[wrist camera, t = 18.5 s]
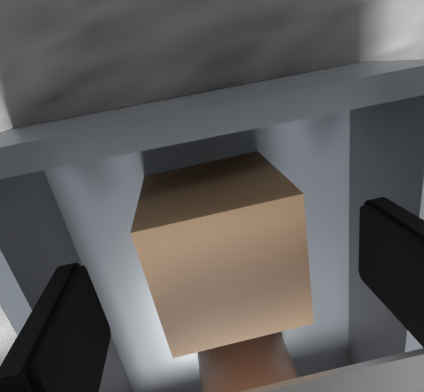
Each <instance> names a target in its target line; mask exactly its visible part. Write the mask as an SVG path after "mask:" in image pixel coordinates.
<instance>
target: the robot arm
mask: <svg viewBox="0 0 424 392" xmlns="http://www.w3.org/2000/svg"><path fill="white" fill-rule="evenodd" d="M358 271H359V275H360V277H361V279H362V281H363V282H364V283H365V284H366V285H367V286H368V287H369V288H370V290H371V291H372V292H373V293H374V294H375V295H376V296H377V297H378V298H379V299H380V301H381V302H382V303H383V304H384V305H385V306H386V307H387V308H388V309H389V310H390V312H391V313H392V314H393V315H394V316H395V317H396V318H397V319H398V320H399V321H400V322H401V324H402V325H403V326H404V327H405V328H406V329H407V330H408V331H409V332H410V333H411V335H412V336H413V337H414V338H415V339H416V340H417V341H418V342H419V343H420V344H421V346H422V347H423V348H421V349H417V350H413V351H409V352H404V353H400V354H396V355H391V356H387V357H383V358H379V359H374V360H370V361H366V362H362V363H357V364H353V365H349V366H345V367H340V368H336V369H332V370H328V371H324V372H319V373H315V374H311V375H307V376H303V377H299V378H294V379H290V380H286V381H282V382H278V383H274V384H270V385H265V386H261V387H257V388H253V389H249V390H245V391H241V392H424V220H423V219H421V218H419V217H418V216H416V215H414V214H413V213H411V212H409V211H408V210H406V209H404V208H403V207H401V206H399V205H397V204H396V203H394V202H392V201H391V200H389V199H387V198H385V197H380V198H375V199H370V200H366V201H365V202H364V205H362V206H361V207H360V217H359V265H358ZM110 339H111V329H110V326H109V323H108V321H107V318H106V316H105V313H104V311H103V308H102V306H101V303H100V301H99V298H98V296H97V293H96V291H95V288H94V286H93V283H92V281H91V278H90V276H89V273H88V271H87V269H86V267H85V266H84V265H83V266H80V265H79V263H77V262H76V263H71V264H67V265H62V266H58V267H57V268H56V270H55V272H54V274H53V275H52V277H51V279H50V281H49V282H48V284H47V286H46V288H45V289H44V291H43V293H42V295H41V296H40V298H39V300H38V302H37V303H36V305H35V307H34V308H33V310H32V312H31V314H30V315H29V317H28V319H27V321H26V322H25V324H24V326H23V328H22V329H21V331H20V333H19V335H18V336H17V338H16V340H15V342H14V343H13V345H12V347H11V349H10V350H9V352H8V354H7V356H6V357H5V359H4V361H3V363H2V364H1V366H0V392H99V388H100V384H101V379H102V375H103V370H104V366H105V361H106V357H107V352H108V348H109V343H110Z"/></svg>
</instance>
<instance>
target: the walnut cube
mask: <svg viewBox="0 0 424 392" xmlns="http://www.w3.org/2000/svg"><path fill="white" fill-rule="evenodd" d="M130 234H131V237H132V240H133V243H134V245H135V248H136V251H137V254H138V257H139V260H140V263H141V266H142V269H143V272H144V275H145V278H146V281H147V284H148V287H149V290H150V293H151V296H152V298H153V301H154V304H155V307H156V310H157V313H158V316H159V319H160V322H161V325H162V328H163V331H164V334H165V337H166V340H167V343H168V346H169V349H170V351H171V354H172V357H173V358H176V357H180V356H184V355H188V354H192V353H196V352H200V351H205V350H209V349H213V348H217V347H221V346H225V345H229V344H233V343H237V342H241V341H245V340H249V339H253V338H257V337H261V336H265V335H269V334H273V333H277V332H281V331H285V330H290V329H294V328H298V327H302V326H306V325H310V324H314V321H313V308H312V295H311V282H310V269H309V256H308V244H307V231H306V218H305V205H304V193H302V192H301V191H300V190H299V189H298V188H297V187H296V186H295V185H294V184H293V183H292V182H291V181H290V180H288V179H287V178H286V177H285V176H284V175H283V174H282V173H281V172H280V171H279V170H278V169H277V168H275V167H274V166H273V165H272V164H271V163H270V162H269V161H268V160H267V159H266V158H265V157H264V156H263V155H261V154H260V153H259V152H258V151H256V152H252V153H247V154H243V155H238V156H234V157H229V158H225V159H220V160H216V161H211V162H206V163H202V164H197V165H193V166H188V167H184V168H179V169H175V170H170V171H166V172H161V173H157V174H152V175H148V176H144V179H143V183H142V187H141V191H140V196H139V200H138V204H137V208H136V212H135V216H134V220H133V224H132V228H131V232H130Z"/></svg>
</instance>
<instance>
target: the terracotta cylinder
mask: <svg viewBox="0 0 424 392" xmlns="http://www.w3.org/2000/svg"><path fill="white" fill-rule="evenodd" d="M198 362H199V373H200V383H201V392H241V391H245V390H249V389H253V388H257V387H261V386H265V385H270V384H274V383H278V382H282V381H286V380H290V379H294V378H299V376H298V374H297V371H296V369H295V366H294V364H293V362H292V359H291V357H290V355H289V352H288V350H287V347H286V345H285V343H284V340H283V338H282V335H281V334H280V332H277V333H273V334H269V335H265V336H261V337H257V338H253V339H249V340H245V341H241V342H237V343H233V344H229V345H225V346H221V347H217V348H213V349H209V350H205V351H200V352H198Z"/></svg>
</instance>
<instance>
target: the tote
mask: <svg viewBox="0 0 424 392" xmlns="http://www.w3.org/2000/svg"><path fill="white" fill-rule="evenodd" d="M256 151H258V152H259V153H260V154H261V155H263V156H264V157H265V158H266V159H267V160H268V161H269V162H270V163H271V164H272V165H273V166H274V167H275V168H277V169H278V170H279V171H280V172H281V173H282V174H283V175H284V176H285V177H286V178H287V179H288V180H290V181H291V182H292V183H293V184H294V185H295V186H296V187H297V188H298V189H299V190H300V191H301V192H302V193H304V205H305V218H306V231H307V244H308V256H309V269H310V282H311V295H312V308H313V321H314V324H310V325H306V326H302V327H298V328H294V329H290V330H285V331H281V332H280V334H281V335H282V338H283V340H284V343H285V345H286V347H287V350H288V352H289V355H290V357H291V359H292V362H293V364H294V366H295V369H296V371H297V374H298V376H299V377H303V376H307V375H311V374H315V373H319V372H324V371H328V370H332V369H336V368H340V367H345V366H349V365H353V364H357V363H362V362H366V361H370V360H374V359H379V358H383V357H387V356H391V355H396V354H400V353H404V352H409V351H413V350H417V349H421V348H423V347H422V346H421V344H420V343H419V342H418V341H417V340H416V339H415V338H414V337H413V336H412V335H411V333H410V332H409V331H408V330H407V329H406V328H405V327H404V326H403V325H402V324H401V322H400V321H399V320H398V319H397V318H396V317H395V316H394V315H393V314H392V313H391V312H390V310H389V309H388V308H387V307H386V306H385V305H384V304H383V303H382V302H381V301H380V299H379V298H378V297H377V296H376V295H375V294H374V293H373V292H372V291H371V290H370V288H369V287H368V286H367V285H366V284H365V283H364V282H363V281H362V279H361V277H360V275H359V271H358V265H359V217H360V207H361V206H362V205H364V202H365V201H366V200H370V199H375V198H380V197H385V198H387V199H389V200H391V201H392V202H394V203H396V204H397V205H399V206H401V207H403V208H404V209H406V210H408V211H409V212H411V213H413V214H414V215H416V216H418V217H419V218H421V219H423V220H424V60H400V61H376V62H358V63H353V64H348V65H343V66H337V67H332V68H327V69H322V70H317V71H311V72H306V73H301V74H296V75H290V76H285V77H280V78H275V79H269V80H264V81H259V82H254V83H248V84H243V85H238V86H233V87H227V88H222V89H217V90H212V91H206V92H201V93H196V94H191V95H185V96H180V97H175V98H170V99H164V100H159V101H154V102H149V103H143V104H138V105H133V106H128V107H122V108H117V109H112V110H107V111H101V112H96V113H91V114H86V115H81V116H75V117H70V118H65V119H60V120H54V121H49V122H44V123H39V124H33V125H28V126H23V127H18V128H12V129H10V130H7V131H4V132H2V133H0V305H1V307H2V309H3V311H4V312H5V314H6V316H7V318H8V319H9V321H10V323H11V325H12V326H13V328H14V330H15V332H16V333H17V335H19V333H20V331H21V329H22V328H23V326H24V324H25V322H26V321H27V319H28V317H29V315H30V314H31V312H32V310H33V308H34V307H35V305H36V303H37V302H38V300H39V298H40V296H41V295H42V293H43V291H44V289H45V288H46V286H47V284H48V282H49V281H50V279H51V277H52V275H53V274H54V272H55V270H56V268H57V267H58V266H62V265H67V264H71V263H76V262H77V263H79V265H80V266H83V265H84V266H85V267H86V269H87V271H88V273H89V276H90V278H91V281H92V283H93V286H94V288H95V291H96V293H97V296H98V298H99V301H100V303H101V306H102V308H103V311H104V313H105V316H106V318H107V321H108V323H109V326H110V329H111V339H110V343H109V348H108V352H107V357H106V361H105V366H104V370H103V375H102V379H101V384H100V388H99V392H201V383H200V373H199V362H198V352H196V353H192V354H188V355H184V356H180V357H176V358H173V357H172V354H171V351H170V349H169V346H168V343H167V340H166V337H165V334H164V331H163V328H162V325H161V322H160V319H159V316H158V313H157V310H156V307H155V304H154V301H153V298H152V296H151V293H150V290H149V287H148V284H147V281H146V278H145V275H144V272H143V269H142V266H141V263H140V260H139V257H138V254H137V251H136V248H135V245H134V243H133V240H132V237H131V234H130V232H131V228H132V224H133V220H134V216H135V212H136V208H137V204H138V200H139V196H140V191H141V187H142V183H143V179H144V176H148V175H152V174H157V173H161V172H166V171H170V170H175V169H179V168H184V167H188V166H193V165H197V164H202V163H206V162H211V161H216V160H220V159H225V158H229V157H234V156H238V155H243V154H247V153H252V152H256Z"/></svg>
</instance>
